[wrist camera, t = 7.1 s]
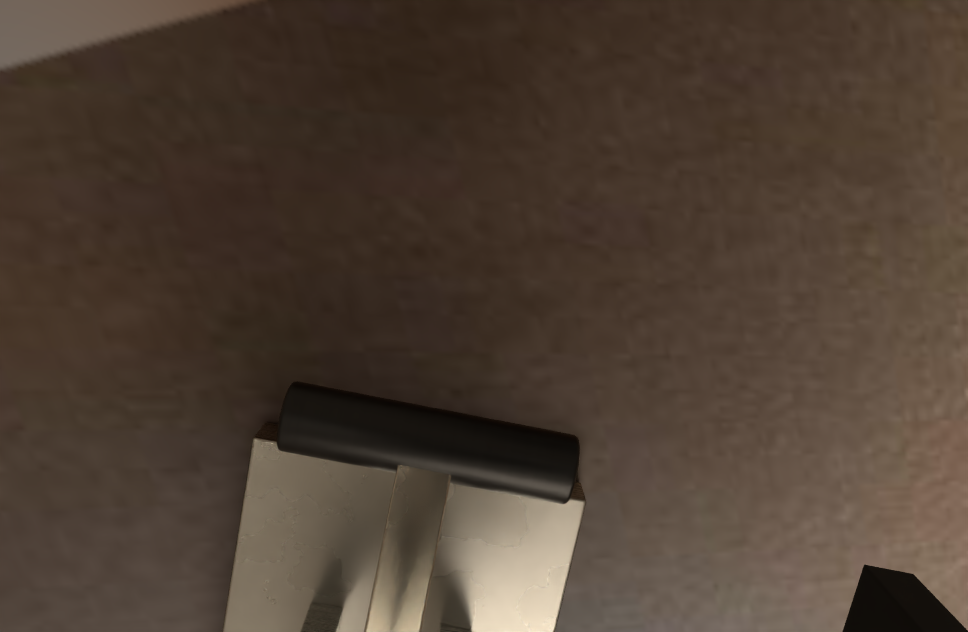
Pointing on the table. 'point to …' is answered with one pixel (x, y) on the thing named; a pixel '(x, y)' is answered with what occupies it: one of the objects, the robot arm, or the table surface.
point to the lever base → (357, 542)
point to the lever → (422, 475)
